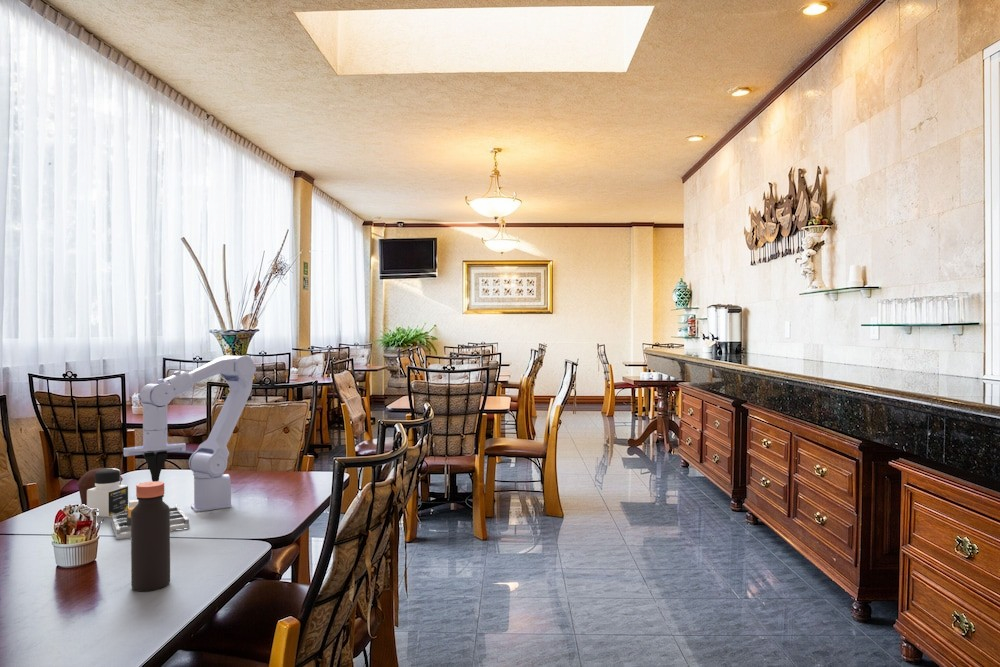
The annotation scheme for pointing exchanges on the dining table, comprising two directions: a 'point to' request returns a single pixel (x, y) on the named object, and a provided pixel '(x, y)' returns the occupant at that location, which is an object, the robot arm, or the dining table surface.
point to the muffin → (88, 483)
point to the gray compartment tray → (123, 531)
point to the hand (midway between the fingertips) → (155, 480)
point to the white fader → (132, 504)
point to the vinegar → (150, 538)
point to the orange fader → (129, 516)
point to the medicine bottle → (108, 493)
